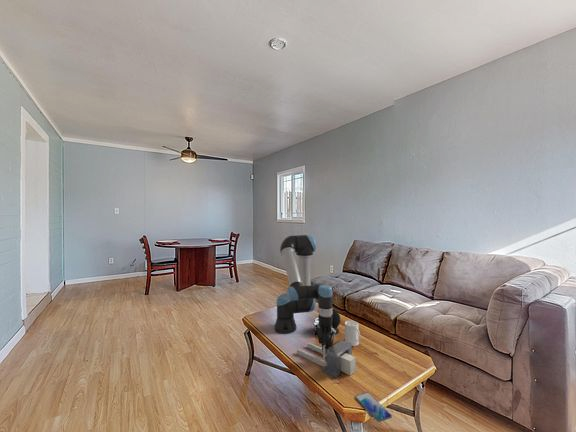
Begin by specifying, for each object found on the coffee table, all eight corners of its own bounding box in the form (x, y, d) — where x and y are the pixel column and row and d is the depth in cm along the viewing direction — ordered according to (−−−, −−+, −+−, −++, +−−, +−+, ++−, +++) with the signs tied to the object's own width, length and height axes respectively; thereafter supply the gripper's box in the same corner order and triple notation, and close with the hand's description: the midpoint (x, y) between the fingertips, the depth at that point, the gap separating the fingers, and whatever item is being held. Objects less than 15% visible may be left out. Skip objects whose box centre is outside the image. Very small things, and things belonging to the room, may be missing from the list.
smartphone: (368, 391, 117) (392, 416, 103) (368, 393, 117) (392, 418, 103) (354, 395, 114) (377, 421, 100) (354, 397, 114) (377, 423, 100)
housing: (322, 371, 133) (322, 351, 132) (342, 356, 146) (342, 337, 146) (335, 378, 127) (335, 357, 127) (355, 362, 141) (355, 342, 141)
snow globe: (316, 330, 179) (316, 308, 178) (329, 325, 187) (329, 304, 187) (331, 337, 168) (331, 314, 168) (344, 331, 177) (344, 309, 177)
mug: (365, 347, 156) (365, 326, 156) (353, 350, 153) (353, 329, 153) (353, 338, 167) (353, 319, 167) (341, 340, 164) (341, 321, 164)
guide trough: (296, 353, 150) (296, 349, 150) (308, 346, 158) (308, 342, 158) (328, 369, 135) (328, 364, 135) (340, 360, 143) (340, 355, 143)
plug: (324, 362, 141) (324, 349, 141) (329, 358, 144) (329, 346, 144) (350, 375, 129) (350, 361, 129) (355, 370, 133) (355, 357, 133)
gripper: (311, 313, 144) (311, 356, 144) (331, 320, 135) (331, 365, 135) (319, 309, 149) (320, 350, 150) (339, 315, 141) (339, 359, 141)
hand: (325, 357), depth 143 cm, fingers closed
